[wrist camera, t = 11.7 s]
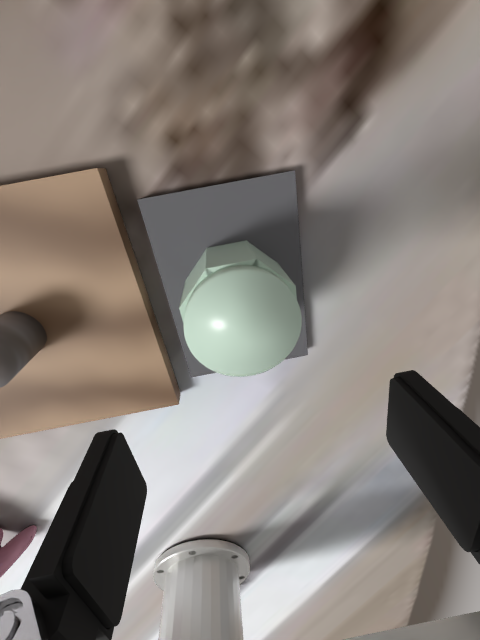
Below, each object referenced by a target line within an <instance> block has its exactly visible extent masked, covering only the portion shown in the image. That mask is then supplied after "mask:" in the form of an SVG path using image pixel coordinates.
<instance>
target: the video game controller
mask: <svg viewBox="0 0 480 640" xmlns="http://www.w3.org/2000/svg"><path fill="white" fill-rule="evenodd" d="M36 531H37V527H36V526H35V525H32V526H29V527H27V528H26V529H24V530H23V531H21V532H20V533H19V534H17V535H16V536H15V537H14V538H13V539H11V540H10V541H9V542H8V543H7V544H6V545H5V546H4V547H1V541H2V538H3V531H2V529H1V528H0V577H1V576H2V575H3V574H4V573H5V572H6V571H7V570H8V569H9V568H10V567H11V566H12V565H13V563H14V562H15V561H16V560H17V559H18V558H19V557H20V556H21V554H22V553H23V552H24V551H25V550H26V549H27V547H28V546H29V545H30V543H31V542H32V540H33V538H34V536H35V534H36Z"/></svg>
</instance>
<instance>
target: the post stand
mask: <svg viewBox="0 0 480 640" xmlns="http://www.w3.org/2000/svg"><path fill="white" fill-rule="evenodd" d="M179 400H180V390H179V387H178V384H177V381H176V378H175V375H174V372H173V369H172V366H171V363H170V360H169V357H168V354H167V351H166V348H165V345H164V342H163V339H162V336H161V333H160V330H159V327H158V324H157V321H156V318H155V315H154V312H153V309H152V306H151V303H150V300H149V297H148V294H147V291H146V288H145V285H144V282H143V279H142V276H141V273H140V270H139V267H138V264H137V261H136V258H135V255H134V252H133V249H132V246H131V243H130V240H129V237H128V234H127V231H126V228H125V225H124V222H123V219H122V216H121V213H120V210H119V207H118V204H117V201H116V198H115V195H114V192H113V189H112V186H111V183H110V180H109V177H108V174H107V171H106V169H104V168H94V169H89V170H83V171H78V172H73V173H67V174H62V175H56V176H51V177H45V178H40V179H35V180H29V181H24V182H18V183H13V184H8V185H2V186H0V439H1V438H7V437H12V436H17V435H22V434H27V433H33V432H38V431H43V430H48V429H53V428H59V427H64V426H69V425H74V424H79V423H85V422H90V421H95V420H100V419H105V418H111V417H116V416H121V415H126V414H131V413H137V412H142V411H147V410H152V409H157V408H163V407H168V406H173V405H178V404H179Z"/></svg>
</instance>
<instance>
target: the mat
mask: <svg viewBox="0 0 480 640" xmlns="http://www.w3.org/2000/svg"><path fill="white" fill-rule="evenodd" d="M138 204H139V207H140V210H141V214H142V217H143V220H144V224H145V227H146V230H147V233H148V237H149V240H150V243H151V247H152V250H153V253H154V257H155V260H156V263H157V266H158V270H159V273H160V276H161V280H162V283H163V286H164V290H165V293H166V296H167V299H168V303H169V306H170V309H171V313H172V316H173V319H174V323H175V326H176V329H177V332H178V336H179V339H180V342H181V346H182V349H183V352H184V356H185V359H186V362H187V365H188V369H189V372H190V375H191V377H196V376H201V375H206V374H211V373H217V372H215V371H212V370H210V369H209V368H207V367H205V366H204V365H203V364H201V363H200V362H199V361H198V360H197V359H196V358H195V357H194V355H193V354H192V353H191V351H190V349H189V347H188V345H187V343H186V340H185V336H184V323H183V320H182V316H181V313H180V309H179V306H180V302H181V297H182V293H183V289H184V285H185V281H186V279H187V277H188V276H189V274H190V273H191V271H192V270H193V268H194V267H195V265H196V264H197V262H198V261H199V259H200V258H201V256H202V255H203V253H204V252H205V250H206V248H209V247H214V246H219V245H225V244H230V243H235V242H241V241H246V240H247V241H248V242H249V243H251V244H252V245H253V246H255V247H256V248H258V249H259V250H260V251H262V252H263V253H264V254H266V255H267V256H269V257H270V258H271V259H273V260H274V261H276V262H277V263H278V264H279V265H280V266H281V268H282V269H283V270H284V272H285V273H286V274H287V275H288V277H289V278H290V279H291V280H292V282H293V283H294V284H295V286H296V296H297V302H298V304H299V307H300V310H301V316H302V326H301V332H300V336H299V339H298V341H297V343H296V345H295V347H294V348H293V350H292V351H291V353H290V354H289V355H288V356H287V357H286V358H285V359H290V358H295V357H300V356H305V355H308V350H307V336H306V321H305V307H304V293H303V278H302V264H301V249H300V235H299V221H298V206H297V192H296V177H295V171H288V172H282V173H277V174H272V175H266V176H261V177H255V178H250V179H245V180H239V181H234V182H228V183H223V184H218V185H212V186H207V187H202V188H196V189H191V190H185V191H180V192H175V193H169V194H164V195H158V196H153V197H148V198H142V199H138Z"/></svg>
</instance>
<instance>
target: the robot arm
mask: <svg viewBox="0 0 480 640" xmlns="http://www.w3.org/2000/svg"><path fill="white" fill-rule="evenodd" d="M386 436H387V440H388V443H389V445H390V446H391V448H392V449H393V450H394V452H395V453H396V455H397V456H398V458H399V459H400V460H401V462H402V463H403V465H404V466H405V468H406V469H407V470H408V472H409V473H410V475H411V476H412V478H413V479H414V480H415V482H416V483H417V485H418V486H419V488H420V489H421V490H422V492H423V493H424V495H425V496H426V498H427V499H428V500H429V502H430V503H431V505H432V506H433V508H434V509H435V510H436V512H437V513H438V515H439V516H440V518H441V519H442V520H443V522H444V523H445V524H446V526H447V528H448V529H449V530H450V532H451V533H452V535H453V536H454V538H455V539H456V540H457V542H458V543H459V545H460V546H461V547H462V548H463V549H464V550H465V551H467V552H471V553H472V555H473V556H474V558H475V559H476V560H477V562H478V563H479V564H480V427H479V426H478V425H476V424H475V423H474V422H473V421H472V420H471V419H470V418H469V417H467V416H466V415H465V414H464V413H463V412H462V411H461V410H460V409H458V408H457V407H455V406H454V405H453V404H452V403H451V402H450V401H449V400H447V399H446V398H445V397H444V396H443V395H442V394H441V393H440V392H438V391H437V390H436V389H435V388H434V387H433V386H432V385H431V384H429V383H428V382H427V381H426V380H425V379H424V378H423V377H422V376H420V375H419V374H418V373H417V372H416V371H413V370H411V371H406V372H401V373H396V374H395V375H394V378H393V379H391V380H390V387H389V402H388V416H387V431H386ZM146 495H147V486H146V482H145V480H144V478H143V476H142V474H141V472H140V470H139V467H138V465H137V463H136V461H135V459H134V457H133V455H132V452H131V450H130V448H129V446H128V444H127V442H126V440H125V437H124V435H123V434H122V433H118V432H117V430H109V431H103V432H98V433H97V434H96V435H95V436H94V438H93V440H92V442H91V444H90V447H89V449H88V451H87V453H86V455H85V457H84V460H83V462H82V464H81V466H80V468H79V470H78V473H77V475H76V477H75V479H74V481H73V482H72V483H71V484H70V486H69V488H68V490H67V492H66V494H65V496H64V498H63V500H62V502H61V505H60V507H59V509H58V511H57V513H56V515H55V517H54V519H53V522H52V524H51V526H50V528H49V530H48V532H47V534H46V536H45V539H44V541H43V543H42V545H41V547H40V549H39V551H38V553H37V556H36V558H35V560H34V562H33V564H32V566H31V568H30V570H29V573H28V575H27V577H26V579H25V581H24V583H23V585H22V587H21V589H19V590H11V591H9V592H7V593H4V594H2V595H0V640H111V639H112V634H113V630H114V626H117V625H118V624H119V622H120V620H121V616H122V612H123V607H124V602H125V597H126V592H127V588H128V583H129V578H130V573H131V568H132V563H133V558H134V553H135V549H136V544H137V539H138V534H139V529H140V524H141V519H142V515H143V510H144V505H145V500H146ZM249 571H250V562H249V557H248V554H247V553H246V552H245V550H243V549H242V548H241V547H240V546H238V545H236V544H234V543H230V542H227V541H222V540H214V539H204V540H195V541H189V542H185V543H182V544H179V545H177V546H174V547H172V548H170V549H169V550H167V551H165V552H164V553H163V554H162V555H161V556H160V557H159V558H158V559H157V561H156V563H155V566H154V573H153V579H154V582H155V583H156V585H157V586H158V587H159V588H160V589H161V590H163V591H164V594H163V603H162V611H161V620H160V629H159V638H158V640H243V627H242V613H241V599H240V584H241V583H242V582H243V581H244V580H245V579H246V578H247V576H248V574H249ZM344 640H480V611H479V612H474V613H469V614H464V615H460V616H454V617H450V618H444V619H440V620H435V621H430V622H425V623H421V624H416V625H411V626H406V627H401V628H396V629H391V630H387V631H382V632H377V633H372V634H367V635H363V636H358V637H353V638H349V639H344Z"/></svg>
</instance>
